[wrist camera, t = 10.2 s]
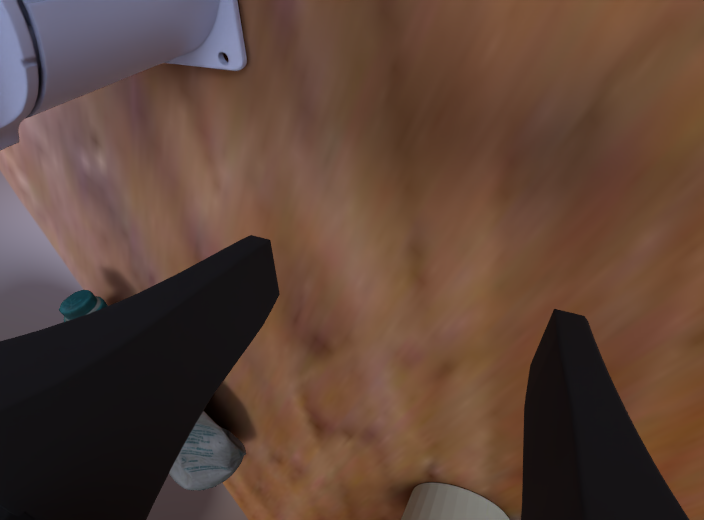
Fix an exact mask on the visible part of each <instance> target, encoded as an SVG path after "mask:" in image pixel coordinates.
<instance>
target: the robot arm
mask: <svg viewBox="0 0 704 520" xmlns="http://www.w3.org/2000/svg"><path fill="white" fill-rule="evenodd" d="M223 53H225V54H226V55H227V57H228V62H227V61H226V60H225V58H224V56H223ZM162 63H170V64H179V65H188V66H196V67H205V68H214V69H222V70H231V71H239V70H241V69H243V68H244V67H245V66H246V64H247V57H246V51H245V44H244V38H243V32H242V26H241V20H240V13H239V7H238V1H237V0H0V150H2V149H5V148H7V147H9V146H11V145H14V144H16V143H18V142H19V134H18V128H19V124H20V123H21V122H22V121H23V120H24V119H25V118H28V117H31V116H33V115H36V114H38V113H41V112H43V111H46V110H48V109H50V108H53V107H55V106H58V105H60V104H63V103H65V102H68V101H70V100H73V99H75V98H78V97H80V96H83V95H85V94H88V93H90V92H92V91H95V90H97V89H100V88H102V87H105V86H107V85H110V84H112V83H115V82H117V81H120V80H122V79H125V78H127V77H130V76H132V75H135V74H137V73H139V72H142V71H144V70H147V69H149V68H152V67H154V66H157V65H159V64H162ZM278 296H279V288H278V282H277V277H276V271H275V265H274V259H273V253H272V248H271V242H270V240H269V239H264V238H260V237H256V236H252V235H250V236H248V237H246V238H244V239H242V240H240V241H238V242H236V243H234V244H232V245H230V246H229V247H227V248H225V249H223V250H221V251H219V252H218V253H216V254H214V255H212V256H210V257H208V258H207V259H205V260H203V261H201V262H199V263H197V264H195V265H193V266H192V267H190V268H188V269H186V270H184V271H182V272H180V273H178V274H177V275H175V276H173V277H170V278H168V279H166V280H164V281H162V282H160V283H158V284H156V285H154V286H152V287H150V288H148V289H146V290H144V291H142V292H140V293H138V294H135V295H133V296H131V297H129V298H126V299H124V300H122V301H119V302H117V303H115V304H112V305H110V306H107V307H105V308H102V309H100V310H97V311H95V312H92V313H89V314H87V315H84V316H81V317H78V318H75V319H72V320H69V321H66V322H63V323H60V324H57V325H55V326H51V327H48V328H45V329H42V330H39V331H36V332H32V333H29V334H25V335H22V336H18V337H15V338H11V339H8V340H4V341H0V520H146V519H147V517H148V514H149V512H150V510H151V508H152V506H153V503H154V502H155V500H156V498H157V496H158V494H159V492H160V490H161V488H162V486H163V484H164V482H165V480H166V478H167V476H168V474H169V472H170V470H171V468H172V466H173V464H174V462H175V460H176V459H177V457H178V455H179V453H180V451H181V449H182V447H183V446H184V444H185V442H186V440H187V438H188V436H189V435H190V433H191V431H192V429H193V428H194V426H195V424H196V422H197V421H198V419H199V417H200V416H201V414H202V412H203V410H204V409H205V407H206V405H207V404H208V402H209V400H210V399H211V397H212V396H213V394H214V393H215V391H216V390H217V388H218V387H219V386H220V384H221V383H222V381H223V380H224V379H225V377H226V376H227V375H228V373H229V372H230V370H231V369H232V368H233V366H234V365H235V364H236V362H237V361H238V359H239V358H240V357H241V355H242V354H243V353H244V351H245V350H246V348H247V347H248V346H249V344H250V343H251V341H252V340H253V339H254V337H255V336H256V334H257V333H258V332H259V330H260V329H261V327H262V326H263V324H264V323H265V321H266V319H267V317H268V315H269V314H270V312H271V310H272V308H273V306H274V304H275V302H276V300H277V298H278ZM521 520H689V519H688V517H687V515H686V514H685V512H684V511H683V509H682V508H681V506H680V504H679V503H678V501H677V500H676V498H675V496H674V495H673V493H672V492H671V490H670V489H669V487H668V485H667V484H666V482H665V480H664V479H663V477H662V475H661V474H660V472H659V470H658V468H657V467H656V465H655V463H654V462H653V460H652V458H651V456H650V454H649V453H648V451H647V449H646V447H645V445H644V444H643V442H642V440H641V438H640V436H639V434H638V433H637V431H636V429H635V427H634V425H633V423H632V421H631V419H630V417H629V415H628V413H627V411H626V409H625V407H624V405H623V403H622V401H621V399H620V397H619V395H618V392H617V390H616V388H615V386H614V384H613V382H612V380H611V377H610V375H609V373H608V371H607V368H606V366H605V364H604V361H603V359H602V357H601V354H600V352H599V349H598V347H597V344H596V342H595V339H594V337H593V334H592V331H591V329H590V326H589V323H588V321H587V319H586V318H585V316H582V315H578V314H574V313H569V312H565V311H561V310H557V309H554V311H553V313H552V316H551V318H550V320H549V323H548V325H547V327H546V330H545V332H544V334H543V337H542V339H541V341H540V344H539V346H538V349H537V351H536V353H535V356H534V358H533V360H532V363H531V365H530V372H529V378H528V385H527V392H526V399H525V408H524V446H523V492H522V514H521Z"/></svg>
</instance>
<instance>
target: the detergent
mask: <svg viewBox="0 0 704 520" xmlns="http://www.w3.org/2000/svg"><path fill="white" fill-rule="evenodd" d="M107 306H108V305H107V304H106V302H105V301H104V300H103V299H102V298H101V297H97V296H94V295H93V293H92V292H90V291H89V290H81V291H78V292H75V293H74V294H72V295H71V296H69V297H68V298H67V299H66V300H64V301H63V302H62V304H61V306H60V309H59V311H60V312H61V313H62V314H63V315H64V322H66V321H69V320H72V319H75V318H78V317H81V316H84V315H87V314H89V313H92V312H95V311H97V310H100V309H102V308H105V307H107ZM244 455H246V450H245V447H244V445H243V444H242V442H241V441H240V440H239V439H238V438H236V437H235V436H234V435H233V434H232V433H231V432H230V431H228V430H226V429H224V428H221V427H220V426H218V425H217V424H216V423H215V422H214V421H213V420H212V419H211V418H210V417H209V416H208V415H207V414H206V413H205V412H204V411H203V412H202V414H201V416H200V417H199V419H198V421H197V422H196V424H195V426H194V428H193V429H192V431H191V433H190V435H189V436H188V438H187V440H186V442H185V444H184V446H183V447H182V449H181V451H180V453H179V455H178V457H177V459H176V460H175V462H174V464H173V466H172V468H171V470H170V472H169V474H170V475H171V477H172V478H173V479H174V480H175V482H176V483H178V484H179V485H180V486H181V487H183V488H185V489H188V490H205V489H209V488H213V487H216V486H217V485H218V484H220V483H222V482H224V481H225V480H227V479H228V478H229V477H230V476H231V475H232V474H233V473H234V472H235V471H236V469H237V468H238V467H239V465H240V464H241V462H242V459H243V457H244Z"/></svg>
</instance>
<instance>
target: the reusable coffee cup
mask: <svg viewBox="0 0 704 520" xmlns="http://www.w3.org/2000/svg"><path fill="white" fill-rule="evenodd" d="M401 520H509V518H508V516H507V515H506V514H505V513H504V512H503V511H502V510H501V509H500V508H499V507H498V506H496V505H495V504H493V503H492V502H491V501H489V500H487V499H485V498H484V497H482V496H480V495H478V494H476V493H473V492H471V491H469V490H466V489H463V488H460V487H457V486H453V485H449V484H443V483H423V484H420V485H418V486H416V487H415V488H414V489H413V491H412V494H411V496H410V499H409V501H408V503H407V506H406V508H405V511H404V513H403V516H402V518H401Z"/></svg>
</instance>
